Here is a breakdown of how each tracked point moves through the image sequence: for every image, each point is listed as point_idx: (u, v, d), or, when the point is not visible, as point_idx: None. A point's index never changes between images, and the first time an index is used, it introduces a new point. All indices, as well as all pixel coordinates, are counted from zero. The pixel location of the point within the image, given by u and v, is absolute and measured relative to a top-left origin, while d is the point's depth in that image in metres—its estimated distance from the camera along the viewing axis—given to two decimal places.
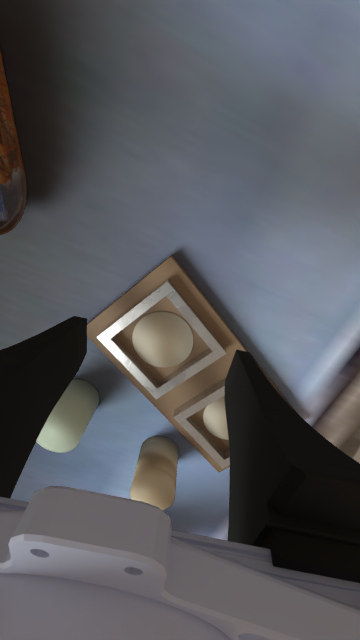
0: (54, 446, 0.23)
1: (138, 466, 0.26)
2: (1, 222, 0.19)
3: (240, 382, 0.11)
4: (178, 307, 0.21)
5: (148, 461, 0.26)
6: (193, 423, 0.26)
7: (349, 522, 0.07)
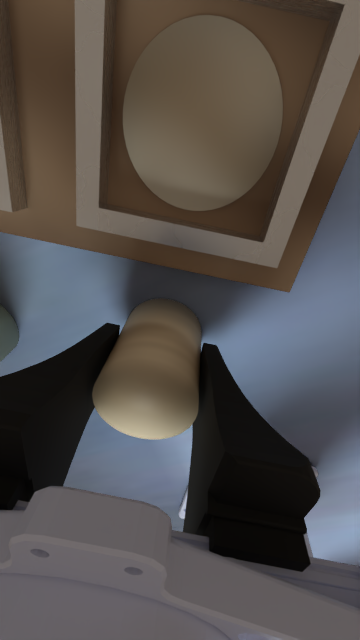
0: None
1: None
2: None
3: (203, 375, 0.11)
4: None
5: (112, 349, 0.12)
6: (133, 212, 0.10)
7: (287, 510, 0.07)
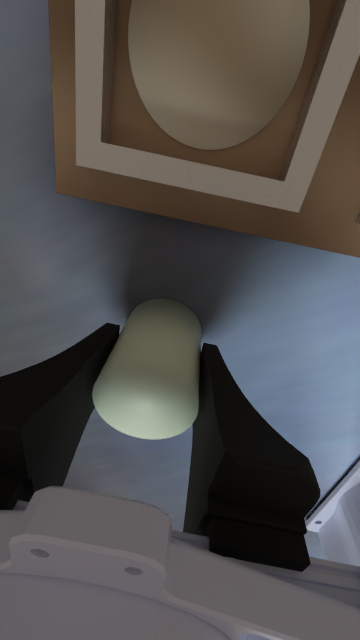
0: (163, 426, 0.11)
1: None
2: None
3: (203, 375, 0.11)
4: None
5: None
6: None
7: (287, 510, 0.07)
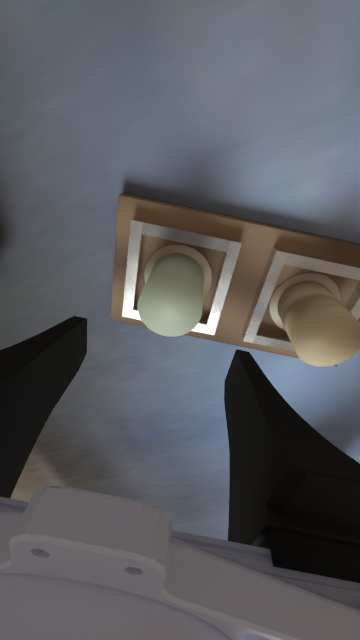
0: (180, 326, 0.18)
1: (287, 324, 0.19)
2: None
3: (240, 382, 0.11)
4: (160, 235, 0.19)
5: (296, 309, 0.18)
6: (268, 334, 0.23)
7: (349, 522, 0.07)
